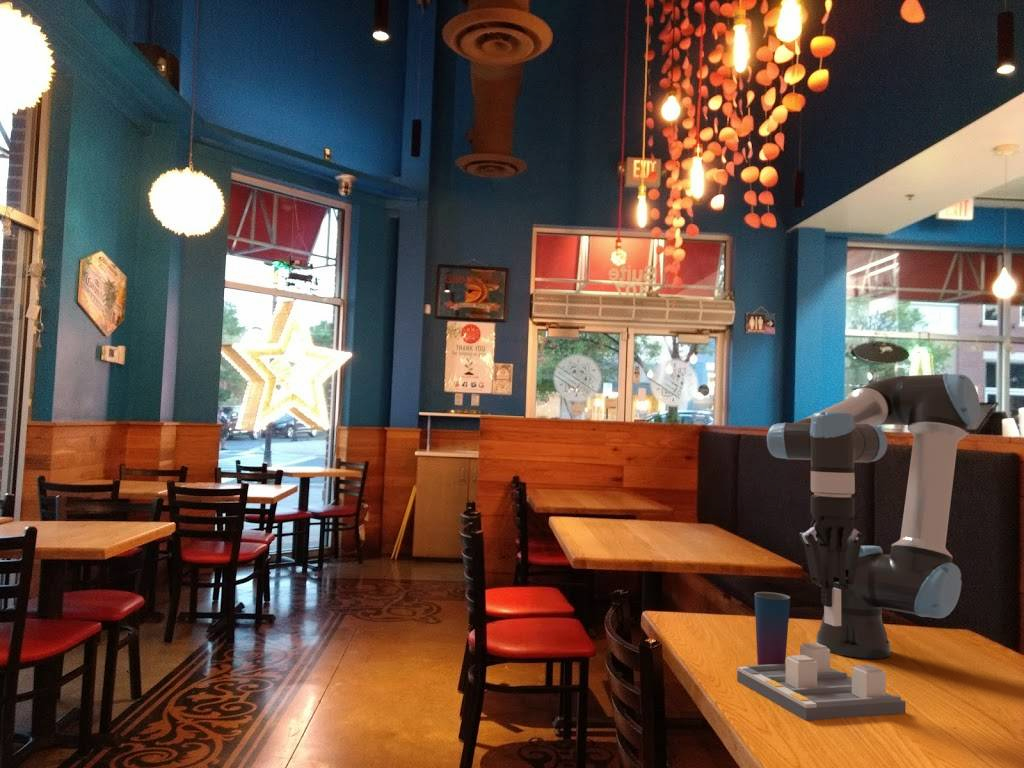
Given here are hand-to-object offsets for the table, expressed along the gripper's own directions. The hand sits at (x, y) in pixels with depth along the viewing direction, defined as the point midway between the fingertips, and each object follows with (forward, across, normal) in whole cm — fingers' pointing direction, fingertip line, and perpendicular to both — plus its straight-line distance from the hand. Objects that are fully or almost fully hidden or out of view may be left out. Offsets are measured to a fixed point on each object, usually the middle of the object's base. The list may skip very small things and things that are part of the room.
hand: (832, 624), depth 135 cm
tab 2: (+11, -1, +7) cm, 13 cm away
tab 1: (+11, -1, -7) cm, 13 cm away
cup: (+13, +3, -14) cm, 19 cm away
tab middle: (+11, +7, 0) cm, 13 cm away
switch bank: (+13, +4, 0) cm, 13 cm away
